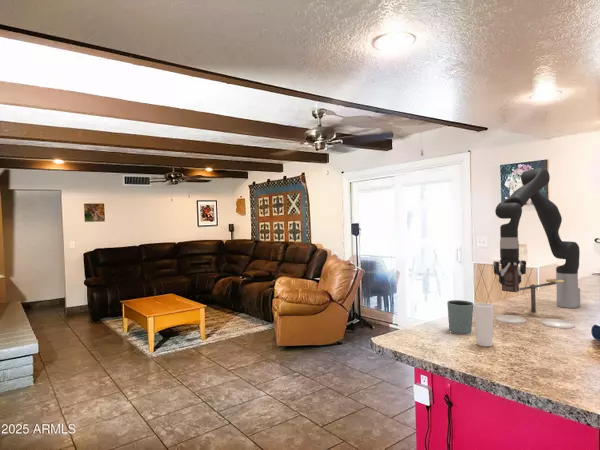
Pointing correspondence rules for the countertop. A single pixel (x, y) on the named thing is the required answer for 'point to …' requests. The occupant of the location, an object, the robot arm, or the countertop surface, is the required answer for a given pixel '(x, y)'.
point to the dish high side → (558, 323)
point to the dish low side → (511, 319)
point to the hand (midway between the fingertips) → (510, 283)
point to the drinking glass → (484, 323)
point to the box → (511, 279)
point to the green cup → (460, 316)
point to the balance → (533, 301)
